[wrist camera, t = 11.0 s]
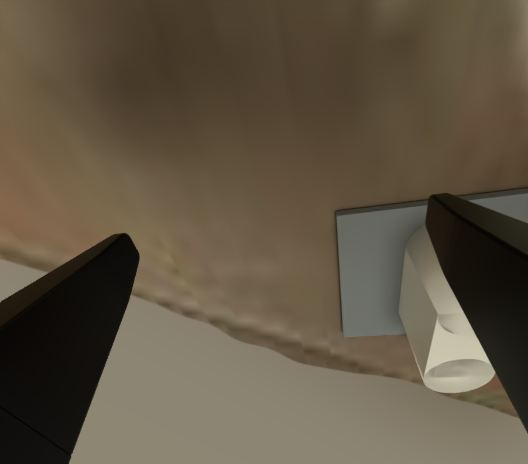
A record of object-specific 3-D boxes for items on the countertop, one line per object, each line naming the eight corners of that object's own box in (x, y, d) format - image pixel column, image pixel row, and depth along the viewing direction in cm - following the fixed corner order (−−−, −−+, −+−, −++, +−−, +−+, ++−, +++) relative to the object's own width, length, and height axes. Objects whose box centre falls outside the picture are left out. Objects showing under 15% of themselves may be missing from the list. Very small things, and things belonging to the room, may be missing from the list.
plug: (479, 215, 20) (539, 279, 15) (446, 338, 28) (478, 407, 23) (408, 222, 21) (444, 287, 16) (395, 341, 29) (416, 408, 24)
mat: (560, 184, 19) (567, 188, 19) (501, 322, 27) (505, 328, 27) (335, 211, 21) (336, 215, 21) (342, 332, 30) (343, 337, 29)
